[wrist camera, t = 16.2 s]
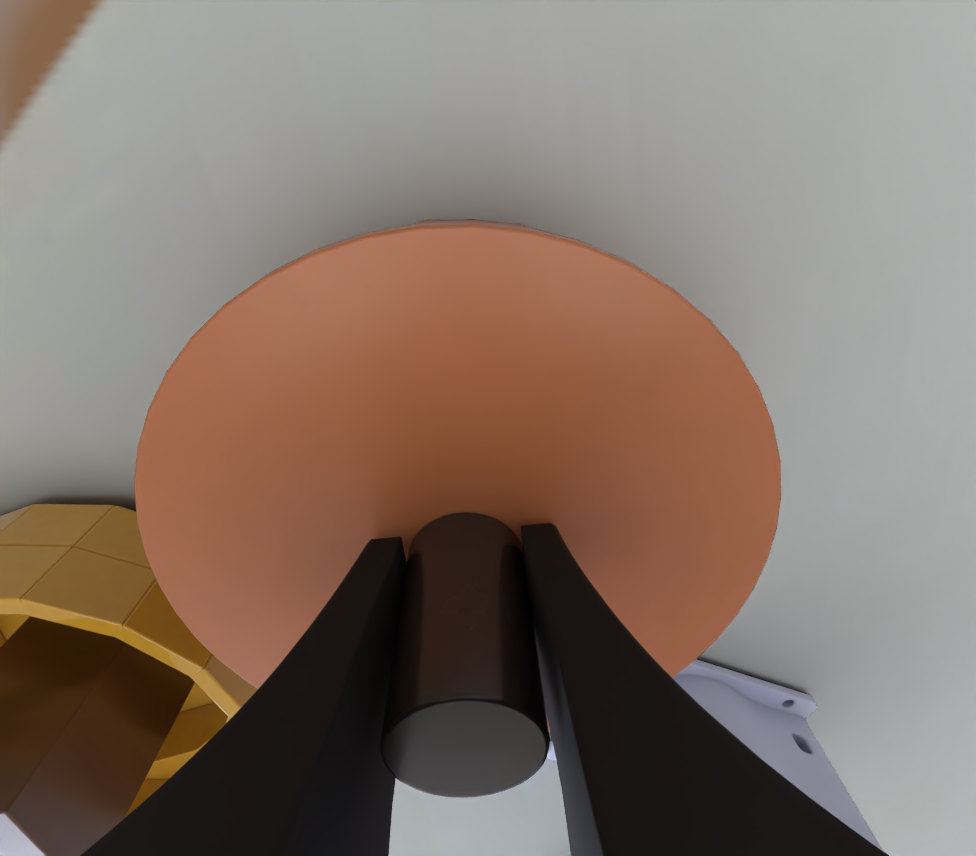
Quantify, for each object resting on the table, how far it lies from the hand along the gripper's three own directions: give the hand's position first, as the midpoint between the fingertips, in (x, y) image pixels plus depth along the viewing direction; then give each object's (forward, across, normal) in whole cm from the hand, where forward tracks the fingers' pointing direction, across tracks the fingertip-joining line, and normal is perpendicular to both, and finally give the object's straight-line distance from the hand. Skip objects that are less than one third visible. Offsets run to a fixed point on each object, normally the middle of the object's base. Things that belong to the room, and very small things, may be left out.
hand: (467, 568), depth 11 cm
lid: (+1, 0, 0) cm, 1 cm away
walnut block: (+6, +14, +7) cm, 16 cm away
